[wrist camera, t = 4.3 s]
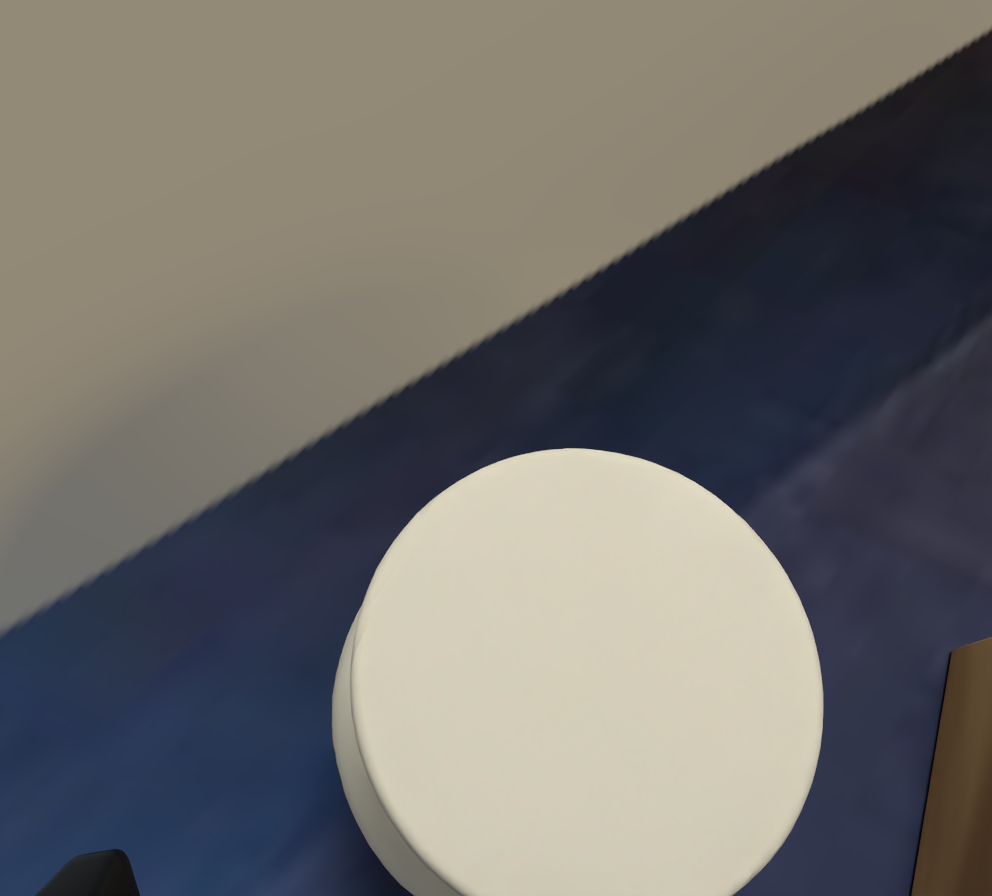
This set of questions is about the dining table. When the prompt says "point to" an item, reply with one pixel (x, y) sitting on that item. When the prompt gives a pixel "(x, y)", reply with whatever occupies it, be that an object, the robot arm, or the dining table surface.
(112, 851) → the robot arm
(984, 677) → the shelf
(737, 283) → the dining table surface
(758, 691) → the pill bottle
